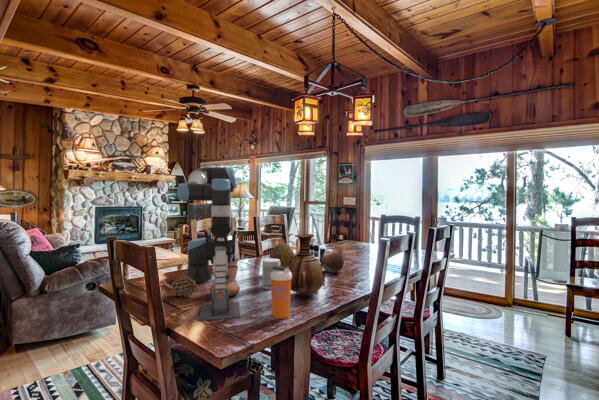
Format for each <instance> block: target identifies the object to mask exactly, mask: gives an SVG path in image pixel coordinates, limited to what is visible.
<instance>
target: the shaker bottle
mask: <svg viewBox="0 0 599 400" xmlns="http://www.w3.org/2000/svg"><path fill="white" fill-rule="evenodd" d="M272 268H273V271H272V272H271V274H270V279H271V290H270V291H271V292H270V293H271V295H270V296H271V317H273V318H274V319H279V320H280V319H281V320H283V319H287V318H289V317H290V312H291V310H290V309H291V308H290V307H291V296H292V295H291V291H292V290H291V279H292V273H291V272H290V267H289V266H287V267H280V266H274V267H272Z"/></svg>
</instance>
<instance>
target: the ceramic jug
mask: <svg viewBox="0 0 599 400" xmlns="http://www.w3.org/2000/svg"><path fill="white" fill-rule="evenodd" d="M215 269H216V267H215ZM238 269H239V266H238V265H237V264H232V263H228V272H225V274H226V278H225V280H226V284H225V286H226V289H229V298H230V297H233V296H235V295H237V294H238V293H239V292H240V288H241V287H240V285H239V284H238V283H236V282H235V281H234V280H235V278H236V275H237V273H238ZM211 271H212V275H213V277H214V278H215V274H216V273H215V272H213V266H212V270H211ZM208 290H209V293H210V294H211V295H212V290H215V282H214V283H212V284H211V285H210V286H209V289H208Z"/></svg>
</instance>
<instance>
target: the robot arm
mask: <svg viewBox="0 0 599 400" xmlns="http://www.w3.org/2000/svg"><path fill="white" fill-rule="evenodd" d="M236 189H237V182H236V173H235V169H234V168H233V167H225V166H224V167H223V166H219V167H217V166H216V167H215V166H214V167H212V166H205V167H200V168H197V169H195V170H193V171H192V172H191V173H190V174H189V175H188V180H187V183H186V182H184V183H179V184H178V186H177V199H178V200H179V201H185V202H189V201H191V202H193V201H196V202H197V201H198V202H200V201H201V202H202V201H203V202H204V201H208V202H209V201H210V202H211V215H212V216H211V227H210V229H207V230H204V233H203V234H204V236H205V237H200V238H194V239H192V240H189V241H188V243H187V268H186V270H185V271H186V272H185V274H184V278H185V277H186V276H189V277H190V279H191V278H192V280H194V281H196V282H195V283H204V282H207V281H210V280H212V279H213V272H215V263H216V251H215V247H225V246H226V248H227V251H226V272H228V264H231V260H233V259H234V257H235V254H236V243H237V242H236V236H237V234H238V231H237V230H235V229H232V194H233V193H234V192H235V191H234V190H236ZM210 235H213V237H212V240H210ZM210 265H212V267H213V270H211V268H210Z"/></svg>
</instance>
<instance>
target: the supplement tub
mask: <svg viewBox="0 0 599 400" xmlns="http://www.w3.org/2000/svg"><path fill="white" fill-rule="evenodd" d="M269 258H270V257H269ZM269 258H264V259H263V260H262V264H261V267H262V271H261V272H262V275H261V276H262V277H261V278H262V281H261V282H262V285H261V286H262V288H263V289H265V290H270V291H271V279H270V274H271V272H272V271H273V268H272V267H274V266H280V260H279V259H274V258H270V259H269Z"/></svg>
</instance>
